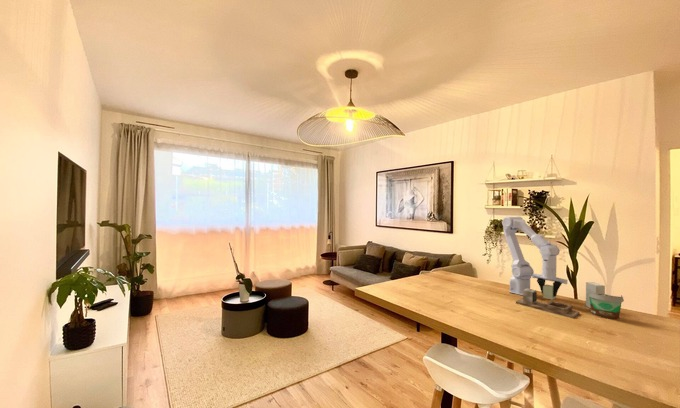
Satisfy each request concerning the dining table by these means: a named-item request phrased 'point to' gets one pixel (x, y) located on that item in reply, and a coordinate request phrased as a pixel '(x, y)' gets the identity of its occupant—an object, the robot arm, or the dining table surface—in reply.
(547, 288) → the green block
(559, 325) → the dining table surface
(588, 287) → the skincare box
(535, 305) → the brown fixture base
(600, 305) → the food container
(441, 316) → the dining table surface
